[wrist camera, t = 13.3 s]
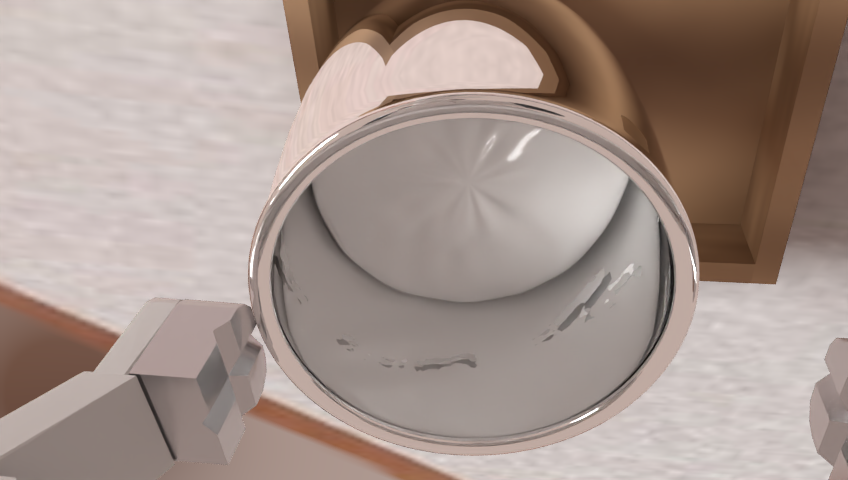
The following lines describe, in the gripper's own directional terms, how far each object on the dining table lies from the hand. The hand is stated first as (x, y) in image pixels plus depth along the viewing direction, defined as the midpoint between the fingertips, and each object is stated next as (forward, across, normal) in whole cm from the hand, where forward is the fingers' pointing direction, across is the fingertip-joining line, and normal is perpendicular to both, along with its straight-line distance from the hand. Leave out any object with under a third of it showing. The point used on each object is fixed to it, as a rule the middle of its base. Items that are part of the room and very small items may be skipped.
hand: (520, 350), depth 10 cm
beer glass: (+15, +3, 0) cm, 16 cm away
